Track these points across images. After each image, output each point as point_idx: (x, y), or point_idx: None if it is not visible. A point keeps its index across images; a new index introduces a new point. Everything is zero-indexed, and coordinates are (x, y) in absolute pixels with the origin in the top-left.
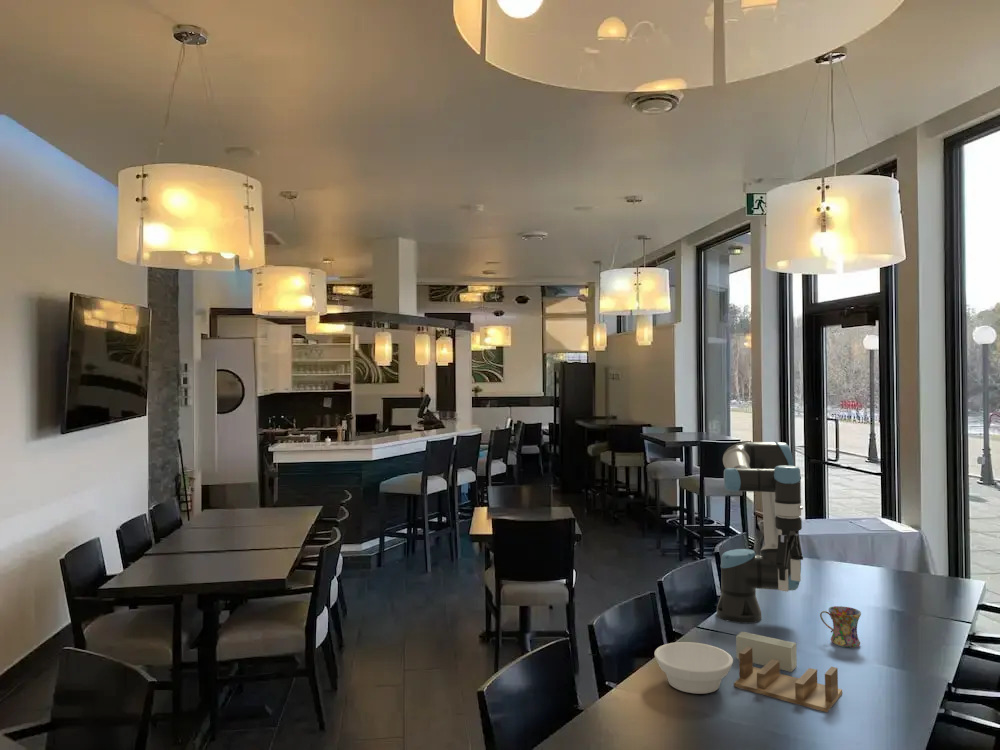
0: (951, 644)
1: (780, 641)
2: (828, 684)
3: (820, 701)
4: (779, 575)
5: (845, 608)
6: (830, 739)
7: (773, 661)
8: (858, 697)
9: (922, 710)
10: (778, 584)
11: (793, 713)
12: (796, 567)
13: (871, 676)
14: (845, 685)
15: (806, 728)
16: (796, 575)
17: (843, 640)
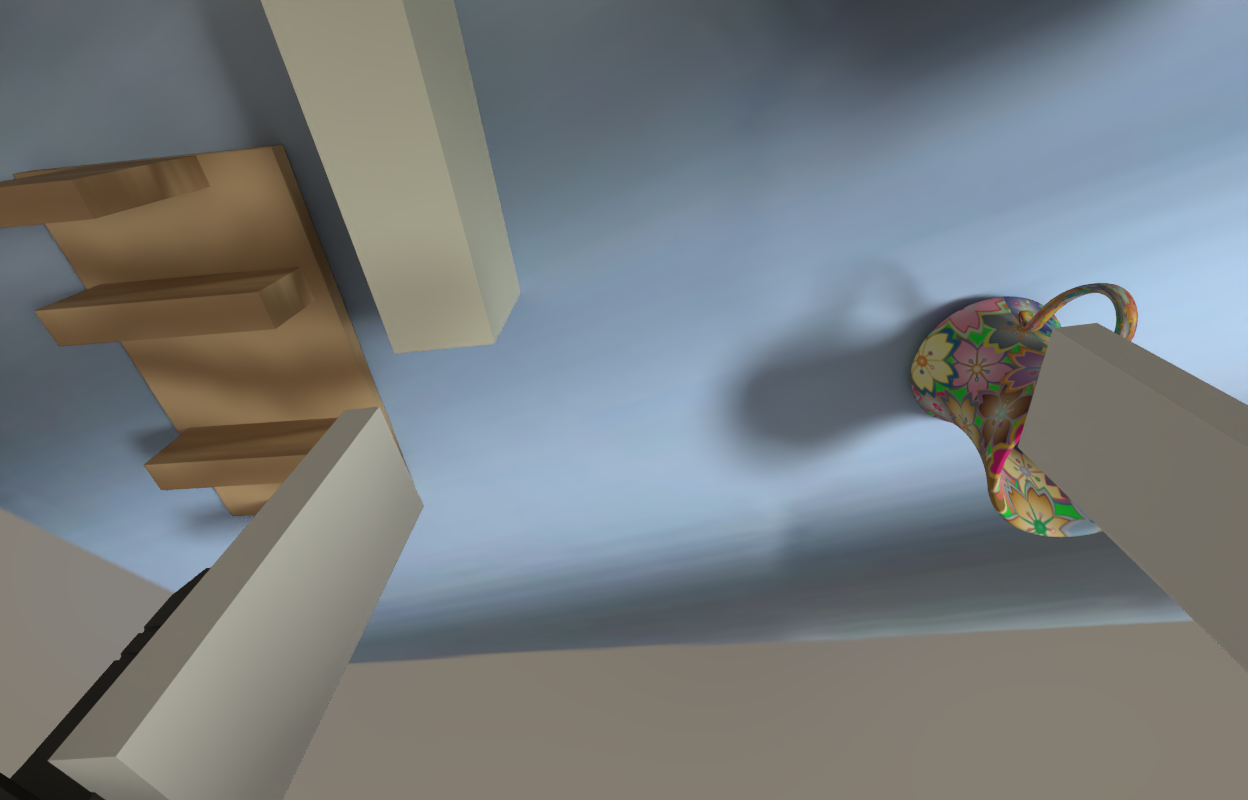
0: (1151, 611)
1: (441, 264)
2: None
3: (256, 489)
4: (126, 653)
5: None
6: (110, 554)
7: (236, 311)
8: (434, 533)
9: (499, 643)
10: (303, 465)
11: (122, 443)
12: (1227, 582)
13: (643, 518)
14: (492, 485)
15: (88, 499)
16: (1091, 459)
17: (931, 385)
